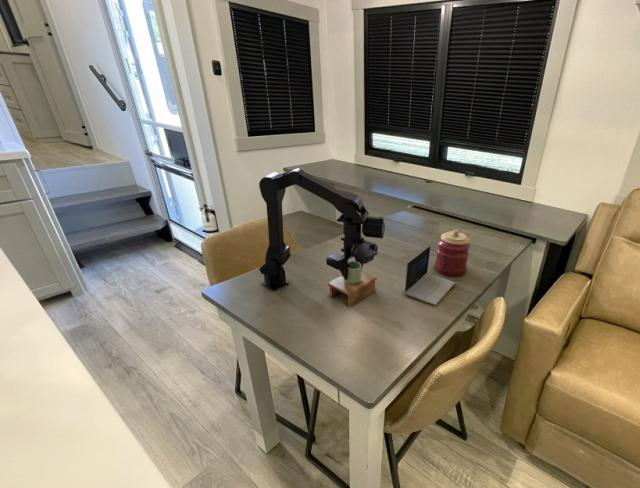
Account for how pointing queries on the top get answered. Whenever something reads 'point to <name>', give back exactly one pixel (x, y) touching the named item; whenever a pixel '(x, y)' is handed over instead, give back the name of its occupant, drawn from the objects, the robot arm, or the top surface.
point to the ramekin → (354, 272)
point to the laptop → (424, 280)
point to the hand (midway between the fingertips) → (352, 275)
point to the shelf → (353, 287)
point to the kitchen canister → (452, 253)
